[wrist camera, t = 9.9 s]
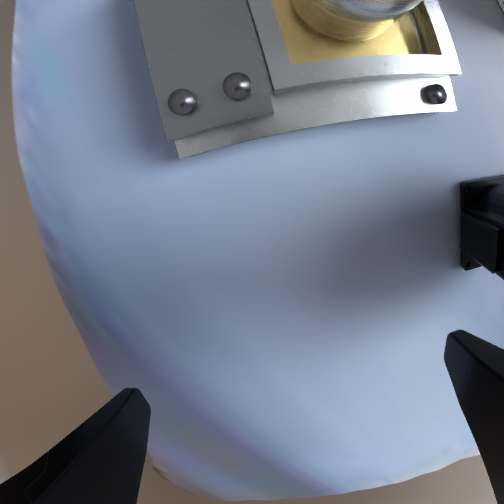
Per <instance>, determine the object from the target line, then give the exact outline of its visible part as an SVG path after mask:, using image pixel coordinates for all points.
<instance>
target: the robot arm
mask: <svg viewBox="0 0 504 504" xmlns="http://www.w3.org/2000/svg"><path fill="white" fill-rule="evenodd" d="M467 186H468V191H467V192H466V188H467ZM460 196H461V244H460V248H461V261H460V265H461V267H462V268H463V269H464V270H466V271H467V270H471V269H474V268H477V267H480V266H483V267H485V268H486V269H487V270H488V271H490V272H491V273H493V274H494V273H496V274H497V275H498V276H499V277H501V278H502V279H503V280H504V175H502V176H495V177H489V178H482V179H476V180H470V181H465V182H463V183H462V184H461V186H460ZM467 262H468V263H467ZM466 263H467V265H466ZM444 361H445V364H446V367H447V370H448V372H449V375H450V378H451V381H452V384H453V387H454V390H455V393H456V396H457V399H458V401H459V404H460V407H461V409H462V411H463V414H464V416H465V418H466V420H467V423H468V425H469V427H470V429H471V432H472V434H473V437H474V439H475V441H476V444H477V446H478V449H479V452H480V454H481V457H482V459H483V462H484V465H485V467H486V470H487V473H488V476H489V479H490V482H491V485H492V488H493V491H494V494H495V497H496V500H497V504H504V349H501V348H499V347H497V346H495V345H493V344H491V343H489V342H487V341H485V340H483V339H481V338H478V337H476V336H474V335H472V334H470V333H468V332H466V331H464V330H456V331H454V332H451V333H449V334H448V336H447V340H446V346H445V352H444ZM150 415H151V409H150V405H149V404H148V402H147V401H146V399H145V398H144V396H143V394H142V393H141V391H140V390H139V389H138V388H125V389H123V390H122V391H121V392H120V393H119V394H117V395H116V396H115V397H114V398H113V399H111V400H110V401H109V402H108V403H107V404H105V405H104V406H103V407H102V408H100V409H99V410H98V411H97V412H96V413H94V414H93V415H92V416H91V417H90V418H88V419H87V420H86V421H85V422H83V423H82V424H81V425H80V426H79V427H77V428H76V429H75V430H74V431H72V432H71V433H70V434H69V435H67V436H66V437H65V438H64V439H63V440H61V441H60V442H59V443H58V444H56V445H55V446H54V447H53V448H51V449H50V450H49V452H47V453H45V454H44V455H43V456H41V457H40V458H39V459H37V460H36V461H35V462H33V463H32V464H31V465H29V466H28V467H27V468H25V469H24V470H22V471H20V472H19V473H17V474H16V475H14V476H13V477H11V478H10V479H8V480H7V481H5V482H3V483H2V484H0V504H136V503H137V498H138V492H139V487H140V481H141V477H142V472H143V467H144V462H145V457H146V451H147V443H148V433H149V424H150Z"/></svg>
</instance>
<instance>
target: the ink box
mask: <svg viewBox="0 0 504 504" xmlns="http://www.w3.org/2000/svg"><path fill="white" fill-rule="evenodd" d="M498 2H499V4H500V6H501V8H502V10H503V13H504V0H498Z"/></svg>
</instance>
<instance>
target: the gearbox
mask: <svg viewBox="0 0 504 504" xmlns="http://www.w3.org/2000/svg"><path fill="white" fill-rule="evenodd" d="M134 2H135V8H136V13H137V18H138V23H139V27H140V32H141V37H142V42H143V46H144V51H145V55H146V60H147V64H148V68H149V72H150V77H151V81H152V85H153V89H154V93H155V97H156V101H157V105H158V109H159V113H160V117H161V121H162V125H163V129H164V132H165V136H166V140H167V141H175V145H176V149H177V152H178V156H179V159H182V158H186V157H189V156H193V155H196V154H199V153H203V152H207V151H210V150H214V149H217V148H221V147H225V146H229V145H233V144H237V143H241V142H245V141H249V140H253V139H257V138H262V137H266V136H271V135H275V134H280V133H285V132H289V131H294V130H299V129H305V128H310V127H315V126H321V125H327V124H333V123H339V122H346V121H352V120H359V119H367V118H375V117H383V116H392V115H402V114H413V113H426V112H442V111H457V110H456V105H455V100H454V95H453V90H452V86H451V82H450V78H449V77H450V76H454V75H458V74H462V73H461V69H460V66H459V62H458V58H457V55H456V51H455V48H454V45H453V42H452V39H451V36H450V33H449V30H448V27H447V24H446V21H445V18H444V16H443V13H442V11H441V8H440V6H439V3H438V1H437V0H423V1H422V2H420V3H419V4H418V5H416V6H415V7H414V8H412V9H411V10H410V11H408V12H407V13H406V14H404V15H403V16H402V17H401V18H399V19H398V20H397V21H396V22H394V23H393V24H392V25H391V26H389V27H388V28H387V29H386V30H384V31H383V32H382V33H381V34H380V35H378V36H376V37H375V38H372V39H370V40H366V41H361V42H346V41H340V40H336V39H333V38H330V37H328V36H325V35H323V34H321V33H319V32H317V31H316V30H314V29H313V28H311V27H310V26H309V25H308V24H307V23H306V22H305V21H304V20H303V19H302V18H301V17H300V16H299V15H298V13H297V11H296V10H295V8H294V5H293V3H292V0H134Z"/></svg>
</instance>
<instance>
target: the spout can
mask: <svg viewBox="0 0 504 504" xmlns="http://www.w3.org/2000/svg"><path fill="white" fill-rule="evenodd" d="M422 1H423V0H292V3H293V5H294V8H295V10H296V11H297V13H298V15H299V16H300V17H301V18H302V19H303V20H304V21H305V22H306V23H307V24H308V25H309V26H310V27H311V28H313V29H314V30H316V31H317V32H319V33H321V34H323V35H325V36H328V37H330V38H333V39H336V40H340V41H346V42H361V41H366V40H370V39H372V38H375V37H376V36H378V35H380V34H381V33H382V32H383V31H384V30H386V29H387V28H388V27H389V26H391V25H392V24H393V23H394V22H396V21H397V20H398V19H399V18H401V17H402V16H403V15H404V14H406V13H407V12H408V11H410V10H411V9H412V8H414V7H415V6H416V5H418V4H419V3H420V2H422Z"/></svg>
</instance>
